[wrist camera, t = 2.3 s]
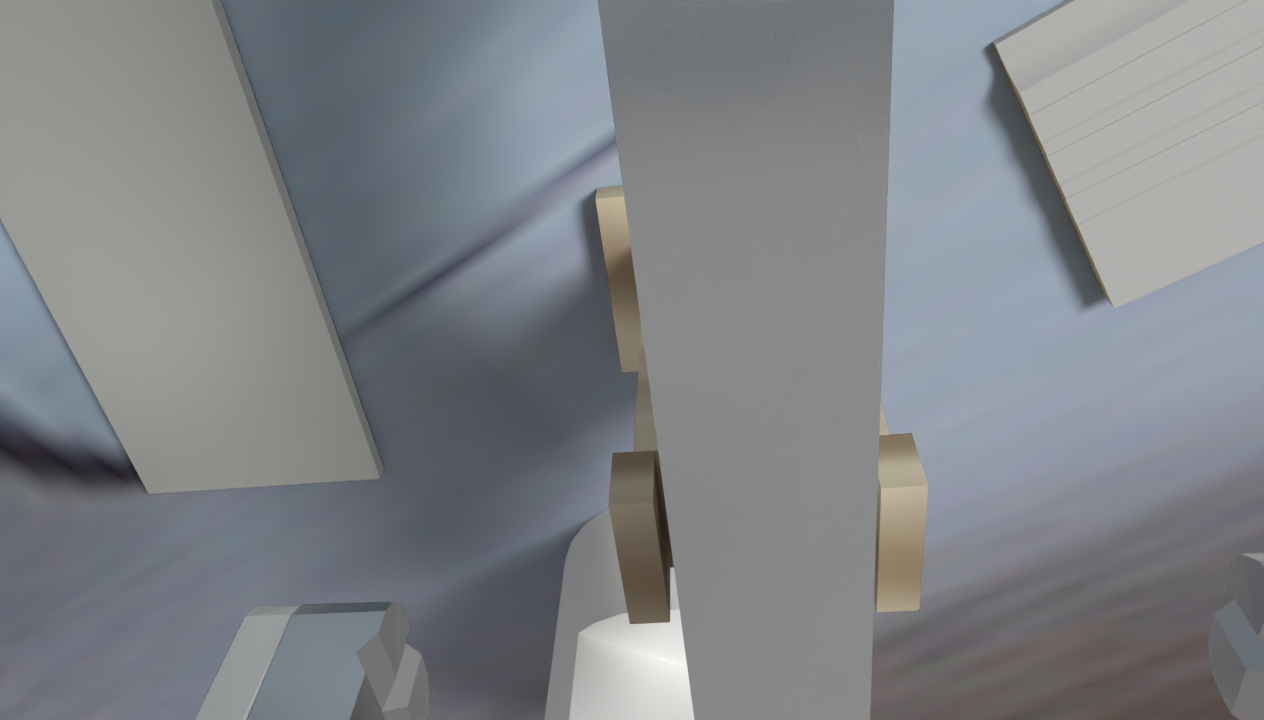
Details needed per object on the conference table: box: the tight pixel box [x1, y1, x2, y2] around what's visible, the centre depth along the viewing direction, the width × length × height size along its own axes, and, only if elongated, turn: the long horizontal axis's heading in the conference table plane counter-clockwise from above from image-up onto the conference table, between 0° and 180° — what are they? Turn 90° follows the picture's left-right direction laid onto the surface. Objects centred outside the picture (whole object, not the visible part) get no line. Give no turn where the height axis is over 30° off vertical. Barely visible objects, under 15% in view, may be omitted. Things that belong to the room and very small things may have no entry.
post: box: [595, 186, 928, 624], centre depth 28 cm, size 7×9×14 cm
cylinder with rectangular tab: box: [544, 509, 694, 720], centre depth 37 cm, size 9×9×12 cm
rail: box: [598, 0, 894, 720], centre depth 17 cm, size 30×4×4 cm, turn 7°
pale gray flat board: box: [0, 0, 384, 494], centre depth 30 cm, size 34×10×1 cm, turn 7°
